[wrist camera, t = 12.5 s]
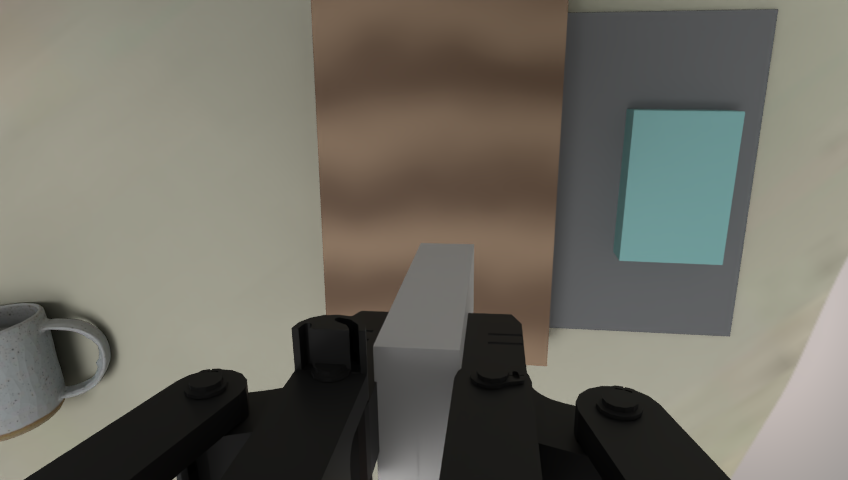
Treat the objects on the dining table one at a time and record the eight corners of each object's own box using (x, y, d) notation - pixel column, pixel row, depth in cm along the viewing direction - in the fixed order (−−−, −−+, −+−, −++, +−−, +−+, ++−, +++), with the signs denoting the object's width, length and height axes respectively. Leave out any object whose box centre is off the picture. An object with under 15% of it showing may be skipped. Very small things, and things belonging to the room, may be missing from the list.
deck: (330, 0, 36) (310, -11, 32) (561, -5, 34) (569, -17, 30) (343, 328, 41) (328, 353, 38) (542, 338, 40) (546, 366, 36)
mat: (560, 13, 34) (560, 12, 34) (775, 9, 33) (778, 9, 32) (542, 325, 39) (543, 327, 39) (728, 334, 38) (729, 336, 38)
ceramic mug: (11, 400, 47) (-79, 459, 39) (-22, 306, 45) (-123, 349, 37) (130, 390, 45) (60, 449, 38) (101, 293, 43) (22, 335, 36)
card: (745, 111, 32) (731, 110, 34) (634, 110, 33) (626, 108, 35) (722, 265, 35) (710, 255, 36) (619, 260, 35) (613, 251, 37)
